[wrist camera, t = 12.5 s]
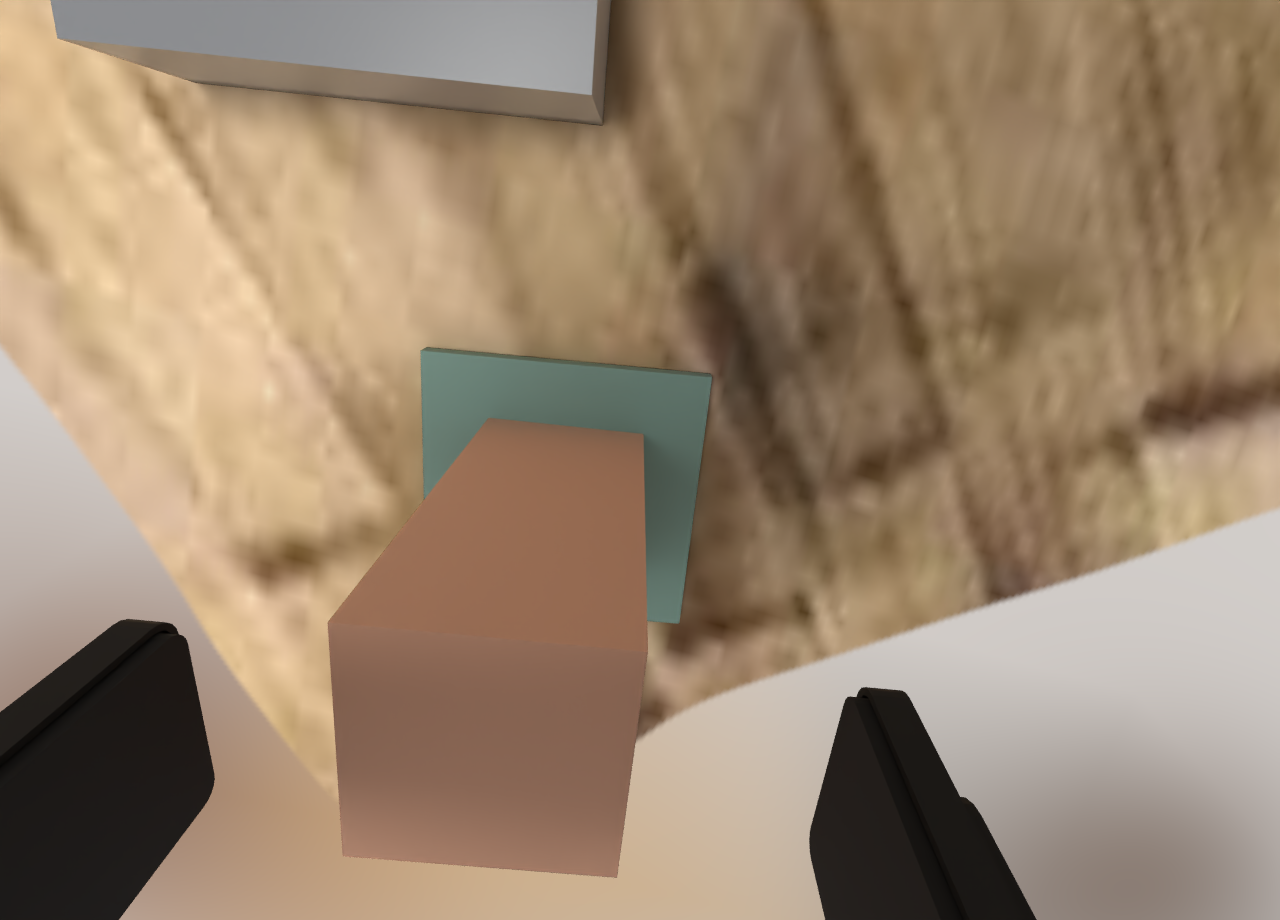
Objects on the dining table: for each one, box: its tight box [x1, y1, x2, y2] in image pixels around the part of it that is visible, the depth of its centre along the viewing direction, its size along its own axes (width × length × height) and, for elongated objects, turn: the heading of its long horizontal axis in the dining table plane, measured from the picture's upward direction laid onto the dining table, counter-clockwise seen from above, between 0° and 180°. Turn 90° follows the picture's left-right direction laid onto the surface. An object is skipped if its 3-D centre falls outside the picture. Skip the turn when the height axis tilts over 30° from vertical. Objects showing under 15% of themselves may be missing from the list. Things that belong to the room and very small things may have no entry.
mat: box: [421, 347, 712, 623], centre depth 19 cm, size 8×8×1 cm
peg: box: [328, 418, 648, 878], centre depth 14 cm, size 4×4×10 cm
